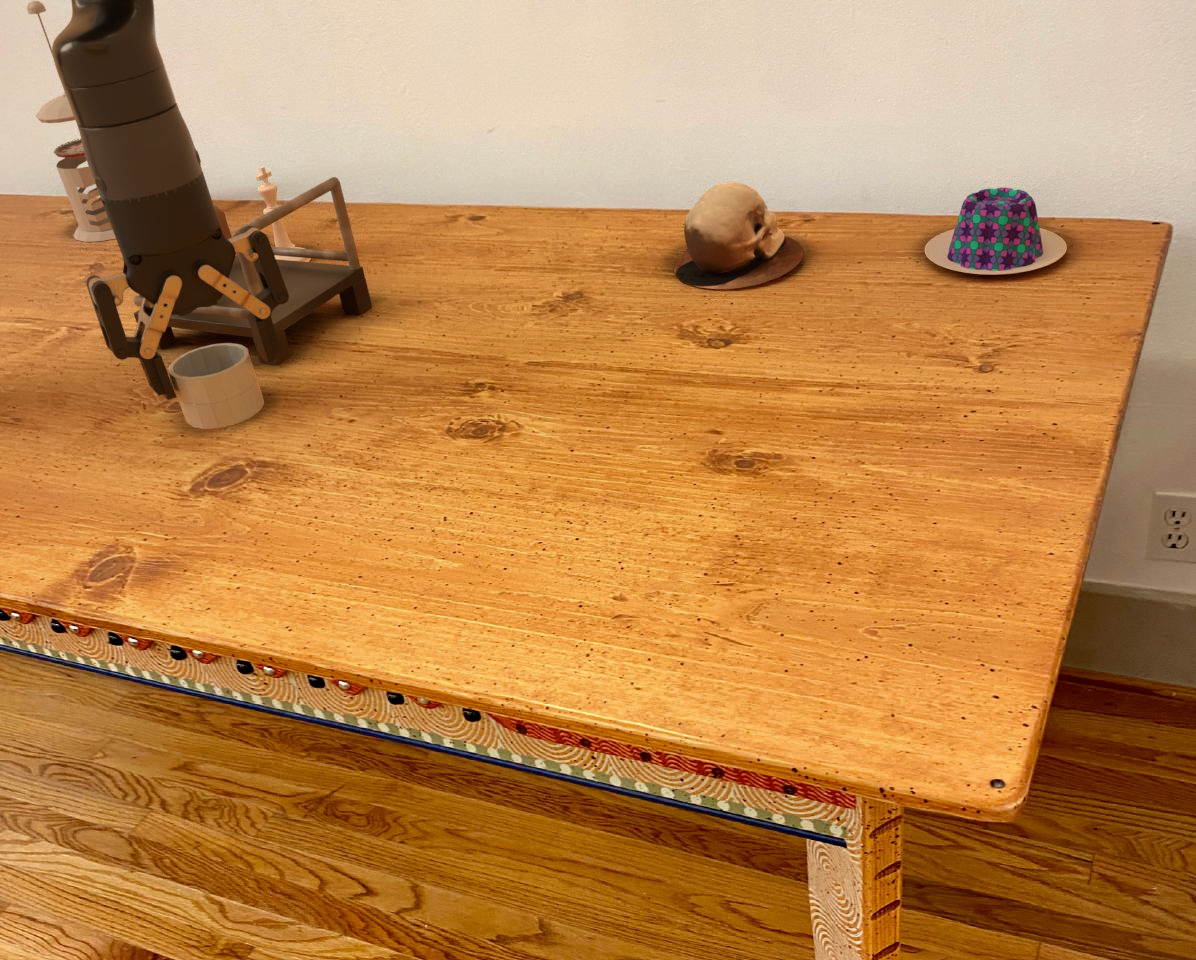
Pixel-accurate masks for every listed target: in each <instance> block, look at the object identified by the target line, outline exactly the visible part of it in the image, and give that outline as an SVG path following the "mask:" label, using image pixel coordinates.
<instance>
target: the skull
mask: <svg viewBox="0 0 1196 960" xmlns="http://www.w3.org/2000/svg"><path fill="white" fill-rule="evenodd" d="M683 227H684V229H683V230H684V233H683V234H684V241H685V245H686V250H684V251H683V252H682V253H681V254H680V255H678V257H677V258H676V260H675V262H674V264H673V273H674V275H675V277H676V278H677V279H678V280H679V281H680V282H682V283H684V284H686V285H689V286H692V287H693V286H694V287H697V288H701V289H706V290H707V289H709V290H732V289H733V290H734V289H740V288H741V289H742V288H746V287H753V286H757V285H761V284H765V283H767V282H769V281H771V280H772V281H773V280H774V279H778V278H780V277H782V276H783V275H785V274H788V273H789V272H790V271H792V270H793V269H794V268H796V267H797V266H798V265H799V264H800V263H801V261H802V260H803V257H804V249H803V246H802V245H801V243H800V242H798V240H796V239H794V238H792V237H789V236H787V235H785V234H784V232H783V231H782V230H781V229H780V228H779V227H778V219H777V215H776V214H775V213H774V212H772V211H771V210H769V209H768V205H767V204H766V202H765V200H764V199H763V197H762V196H761V195H760V194H759V192H758V191H757V190H756V189H755V188H753V187H752V186H749V185H748V184H745V183H741V182H735V181H725V182H722V183H721V182H720V183H718V184H716V185H713V186H712V187H710V188H709V189H708V190H707V191H706V192H705V193H703V194H702V196H701V197H699V199H698V200H697V201H696V202H695V204H694V205H693V206H692V207H691V208H690V210H689V211H688V213H687V215H686V217H685V220H684V226H683Z"/></svg>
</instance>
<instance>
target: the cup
mask: <svg viewBox="0 0 1196 960" xmlns="http://www.w3.org/2000/svg"><path fill="white" fill-rule="evenodd" d="M167 372H168V375H169V378H170V381H171V383H172V386H173V389H174V391H175V394H176V398H177V401H178V402H179V406H180V409H181V411H182V414H183V417H184V420H185V422H186V423H187V424H188V425H189V426H190V427H192V428H196V429H202V430H213V429H222V428H225V427H231V426H234V425H238V424H239V423H242V422H244V421H247V420H248V419H251V418H252V417H253V416H255V415H256V414H258V413H259V412H260V411H261V410H262V408H263V406H265V400H264V395H263V392H262V389H261V386H260V383H259V379H258V377H257V374H256V370H255V367H254V363H253V360H252V357H251V353H250V351H249V348H248V347H246V346H244V345H243V344H241V343H234V342H233V343H232V342H224V343H213V344H209V345H205V346H200V347H197V348H194V349H192V350H190V351H187V352H185V353H183V354H181V355H180V356H178V357H176V358H175V359H173V361H172V362H171V363H170V365H169V366H168V370H167Z"/></svg>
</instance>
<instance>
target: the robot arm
mask: <svg viewBox="0 0 1196 960" xmlns="http://www.w3.org/2000/svg"><path fill="white" fill-rule="evenodd" d="M155 17H156V16H155V3H154V0H71V19H70V21H69V22H68V24H67V25H66V26H65V28H64V29H63V30H61V31H60V32H59V33H58V35H57V36H56V37H55V38H54V40H53V42H52V46H51V48H52V53H51V55H52V54H53V56H52V59H53V63H54V66H55V69H56V72H57V75H58V77H59V80H60V83H61V86H62V88H63V91H64V93H65V94H66V96H67V99H68V102H69V104H70V107H71V110H72V112H73V115H74V118H75V120H74V121H75V123H76V125H77V124H78V125H77V129H78V132H79V136H80V138H81V140H82V144H83V149H84V153H85V157H86V159H87V161H86V162H87V165H88V166H89V168H90V171H91V173H92V176H93V179H94V181H95V184H94V185H95V186H96V187H95V188H97V189H98V192H99V198H101V200H102V203H103V205H104V208H105V211H106V213H107V216H108V219H109V221H110V224H111V227H112V229H113V232H114V234H115V237H116V239H115V240H116V243H117V246H118V247H119V251H120V253H121V255H122V260H123V268H122V272H120V273H116V274H112V275H108V276H104V277H100V276H99V275H94V274H93V275H89V276H88V278H87V279H86V283H85V284H86V288H87V290H88V294H89V297H90V300H91V303H92V306H93V309H94V312H95V315H96V318H97V321H98V324H99V327H100V331H101V333H102V336H103V339H104V342H105V345H106V347H107V349H108V350H109V351H111V352H112V354H113V355H114V357H115V358H116V359H118V360H121V361H122V360H123V361H124V360H127V359H128V358H129V359H130V358H131V359H132V358H134V359H138V360H139V363H140V365H141V367H142V370H143V372H144V375H145V378H146V381H147V383H148V385H149V387H150V388H151V389H152V391H154V392H155V393H156V395H157V396H158V397H159V396H163V397H164V398H165V399H166V400H167V401H170V400H173V399H176V398H177V395H176V392H175V390H174V387H173V384H172V381H171V378H170V376H169V372H168V370H167V368H166V365H165V362H164V359H163V356H161V354H160V353H159V352H158V349H157V348H158V345H159V342H160V339H161V336H162V334H163V333H164V332H165V331H166V328H167V325H168V322H169V319H170V316H171V314H172V315H178V316H179V317H180V316H183V315H186V314H189V313H191V312H192V311H194V310H195V309H197V308H201V307H210V306H213V305H216V304H218V303H217V301H218V300H219V299H220V298H221V297H222V296H223V294H224V295H226V296H227V297H228V298H230V299H231V300H233V301H234V302H236V303H237V304H239V305H240V306H242V307H244V308H245V309H246V310H248V311H249V312H250V314H249V315H247V317H248V320H249V323H250V326H251V329H252V332H253V335H254V338H255V341H256V344H257V348H258V351H259V353H260V356H261V357H262V359H263V360H265V361H266V362H267V363H271V362H273V361H276V356H275V353H278V352H279V349H280V345H279V341H278V339H277V335H276V332H275V328H274V325H273V322H272V319H271V313H272V311H273V310H274V309H275V308H276V307H277V306H278V305H279V304H285V303H286V302H287V301H288V299H289V294H288V291H287V289H286V286H285V283H284V280H283V278H282V275H281V272H280V270H279V267H278V264H277V261H276V259H275V256H274V253H273V250H272V248H271V246H272V245H271V242H270V240H269V237H268V235H267V234H266V233H264V231H262V230H258V229H257V228H255V227H254V226H247V227H245V228H244V230H243V233H242V234H240V235H237V236H235V237H233V236H232V238H230V239H227V238H226V237H225V236H224V234H223V232H222V230H221V227H220V224H219V221H218V218H217V214H216V211H215V208H214V205H215V204H214V202H213V199H212V196H211V192H210V189H209V187H208V183H207V180H206V178H205V175H204V171H203V168H202V161H201V157H200V154H199V151H198V150H197V149H196V147H195V143H194V141H193V137H192V135H191V132H190V130H189V128H188V126H187V123H186V121H185V119H184V117H183V115H182V113H181V111H180V108H179V106H178V105H179V104H178V102H177V100H176V96H175V93H174V90H173V87H172V83H171V81H170V78H169V74H168V72H167V68H166V65H165V63H164V60H163V56H162V55H161V52H160V49H159V46H158V43H157V37H156V18H155ZM237 252H240V253H241V254H242V255H243V257H244V258H246V259H247V260H249V261H251V262H253V263H254V265H255V268H256V271H257V273H258V276H259V279H260V281H261V284H262V287H263V290H262V291H261V292H260V293H258V294H257V295H256V296H254V295H253V294H251V293H250V292H248V291H247V290H246V289H244V288H243V287H241V286H240V285H238V284H237V283H236V282H234V281H233V280H231V279H230V278H229V275H230V272H231V269H232V266H233V263H234V259H235V256H236V253H237ZM237 254H238V253H237ZM127 289H130V290H132V291H133V292H134V293H136V295H138V294H139V295H140V296H142V297H143V301H142V304H141V306H139V309H138V310H139V314H138V323H137V322H136V327H135V329H134V333H133V335H132V336H127V335H126V332H125V329H124V327H123V323H122V321H121V318H120V317H121V316H120V314H119V311H118V308H117V307H119V306H121V305H122V304H123V302H124V292H125V291H126V290H127ZM150 305H151V306H150ZM161 315H162V316H161Z"/></svg>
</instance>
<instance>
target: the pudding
mask: <svg viewBox="0 0 1196 960" xmlns="http://www.w3.org/2000/svg"><path fill="white" fill-rule="evenodd" d="M1037 211H1038V210H1037V205H1036V203H1035V200H1034V198H1033V197H1032V196H1031V195H1030V194H1029V193H1028V192H1026V191H1025V190H1022V189H1013V188H1011V187H997V188H983V189H981V190H979V191H977V192H972V193H970V194H968V195H967V196H966V198H965V199H964V200H963V202H962V205H961V207H960V211H959V214H958V218H957V220H956V224H955V227H954V228H951V229H949V230H947V231H944V232H941V233H938V234H937V235H935V236H934V237H932V238H931V239H929V241H928V242H926V245H925V246H924V253H925V255H926V257H927V258H928V259H929V261H931V262H932V263H934V264H936V265H937V266H940V267H942V268H945V269H948V270H952V271H955V272H961V273H966V274H975V275H989V276H990V275H1011V274H1019V273H1024V272H1029V271H1034V270H1037V269H1042V268H1044V267H1046V266H1049V265H1052V264H1053V263H1055V262H1057V261H1058V260H1060V259H1061V258H1063V257H1064V255H1065V254H1066V253H1067V248H1068V247H1067V243H1066V241H1065V240H1064V238H1062V237H1061V236H1059V234H1057V233H1055V232H1053V231H1051V230H1048V229H1045V228H1042V227H1040V223H1039V217H1038V212H1037Z"/></svg>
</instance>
